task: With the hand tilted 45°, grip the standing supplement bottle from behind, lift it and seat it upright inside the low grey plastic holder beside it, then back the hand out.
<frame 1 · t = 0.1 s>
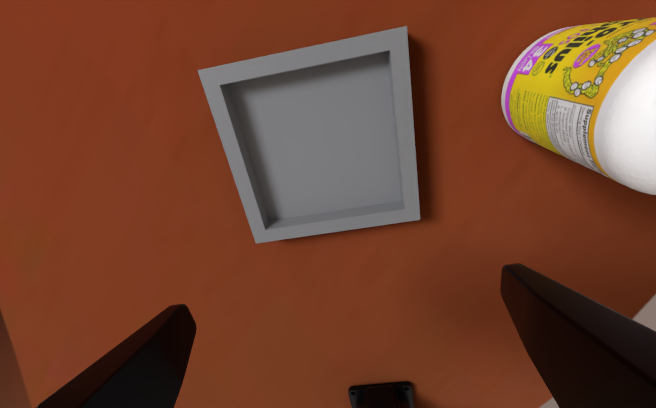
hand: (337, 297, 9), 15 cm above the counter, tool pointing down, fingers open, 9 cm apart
supplement bottle: (549, 86, 20), on the counter
holder: (321, 143, 22), on the counter
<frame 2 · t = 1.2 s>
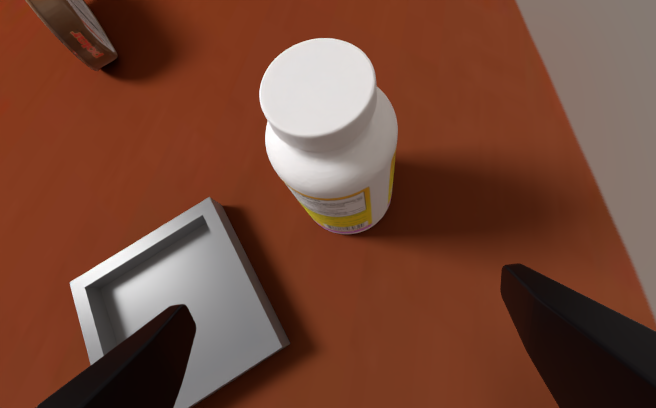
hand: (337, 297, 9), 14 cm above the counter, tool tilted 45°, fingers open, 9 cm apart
supplement bottle: (347, 195, 24), on the counter
holder: (183, 311, 23), on the counter
tin: (99, 39, 35), on the counter
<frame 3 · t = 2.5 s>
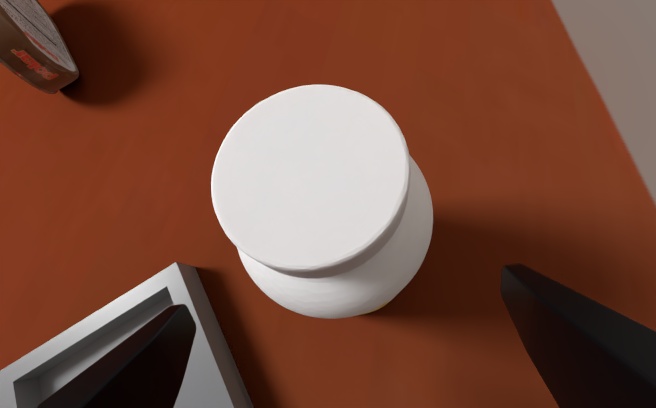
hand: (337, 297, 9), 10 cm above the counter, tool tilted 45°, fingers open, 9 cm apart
supplement bottle: (352, 258, 19), on the counter
tin: (61, 55, 30), on the counter
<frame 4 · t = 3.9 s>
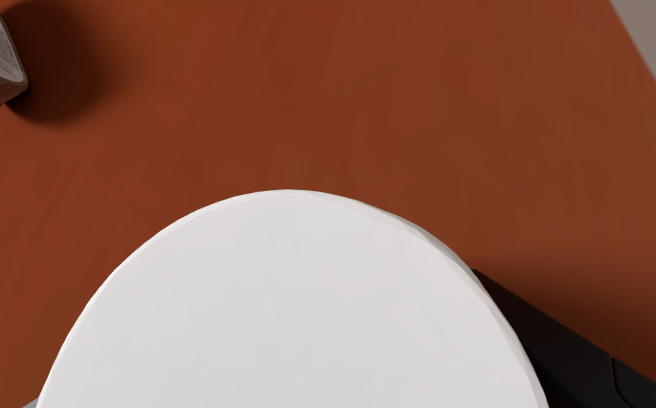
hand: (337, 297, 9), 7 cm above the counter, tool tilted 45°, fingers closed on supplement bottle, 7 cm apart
supplement bottle: (359, 332, 15), on the counter, touching gripper
tin: (11, 60, 25), on the counter
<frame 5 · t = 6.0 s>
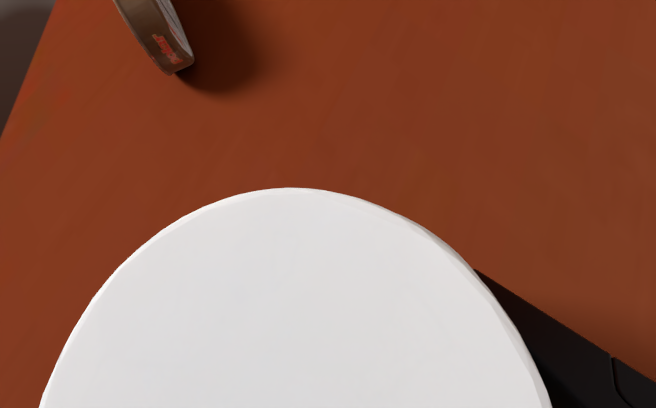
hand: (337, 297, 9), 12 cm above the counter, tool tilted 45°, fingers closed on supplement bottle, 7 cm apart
supplement bottle: (359, 331, 15), point 5 cm above the counter, touching gripper
tin: (175, 34, 31), on the counter
when the fingers open (9 cm above the counter, at t = 8.2 s): supplement bottle drops 1 cm, resting on holder.
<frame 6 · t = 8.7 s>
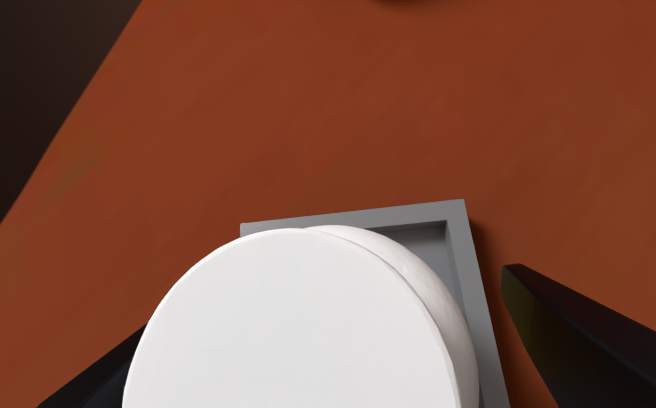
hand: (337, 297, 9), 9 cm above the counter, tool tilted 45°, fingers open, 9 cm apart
supplement bottle: (361, 334, 16), point 1 cm above the counter, touching holder
holder: (360, 329, 17), on the counter
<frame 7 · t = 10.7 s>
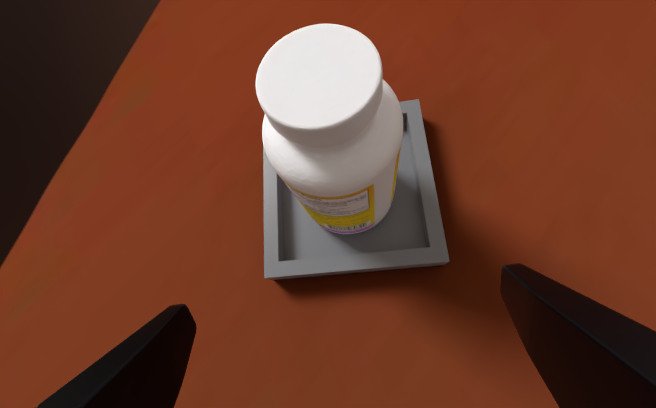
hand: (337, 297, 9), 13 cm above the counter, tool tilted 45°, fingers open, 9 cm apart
supplement bottle: (348, 194, 24), resting on holder
holder: (348, 193, 24), on the counter
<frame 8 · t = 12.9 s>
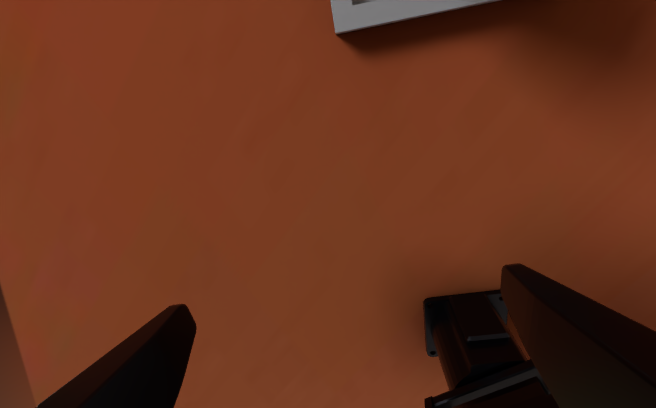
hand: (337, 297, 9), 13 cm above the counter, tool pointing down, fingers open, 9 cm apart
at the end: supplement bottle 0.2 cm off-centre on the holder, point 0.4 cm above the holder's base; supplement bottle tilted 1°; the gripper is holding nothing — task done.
